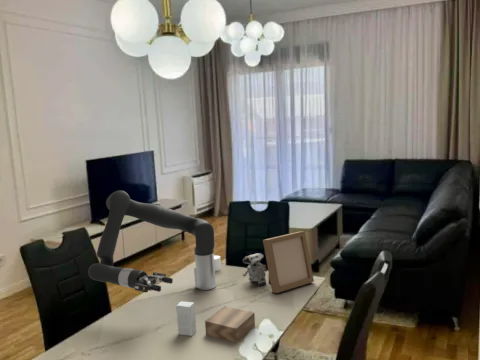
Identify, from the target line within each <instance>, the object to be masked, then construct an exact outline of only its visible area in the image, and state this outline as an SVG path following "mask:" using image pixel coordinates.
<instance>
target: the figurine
mask: <svg viewBox="0 0 480 360" xmlns="http://www.w3.org/2000/svg"><path fill="white" fill-rule="evenodd" d="M262 259H264V254H262V253H258V252H257V253H254V254H252V253H251V254H249V255H246V256H244V257H243V259H242V262H243V264H248V266H247V267H246V269H247V270H246V271H244V273H243V274H242V276H243V277H246V276H247V275H248V276H249V278H248V280H249V281H250V282H257V286H258V287H263V286H266V285H267V279H266V272H267V271H268V269H267V264H264V263H261V261H262Z"/></svg>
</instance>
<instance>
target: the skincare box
mask: <svg viewBox="0 0 480 360" xmlns="http://www.w3.org/2000/svg"><path fill="white" fill-rule="evenodd" d="M175 307H176V310H175V311H176V321H177V332H178V335H182V336H188V337H189V336H190V337H193V335H194V334H195V333H196V332H197V321H196V310H195V309H196V308H195V302H192V301H191V302H190V301H180V302H178V303H177V304H176V306H175Z"/></svg>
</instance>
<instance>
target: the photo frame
mask: <svg viewBox="0 0 480 360" xmlns="http://www.w3.org/2000/svg"><path fill="white" fill-rule="evenodd" d="M262 243H263V248H264V255H265V259H266V267H267V271H268V276H267V277H268V283H269V284H270V288H271V292H272V293H276V294H280V293H282V292H284V291H285V292H286V291H288V290H291V289H294V288H297V287H301V286H304V285H305V286H306V285H307V284H311V283H313V282H315V280H314V274H313V269H312V268H313V267H312V264H311V258H310V253H309V248H308V247H309V246H308V242H307V237H306V231H305V230H303V231H295V232H292V233H287V234H283V235H279V236H274V237H270V238H266V239H262Z"/></svg>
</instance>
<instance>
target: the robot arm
mask: <svg viewBox="0 0 480 360" xmlns="http://www.w3.org/2000/svg"><path fill="white" fill-rule="evenodd" d="M105 204H106V208H107V209H108V210H109V211H108V216H107V221H106V224H105V226H104V229H103V232H102V234H101V235H100V236H101V237H100V240H99V242H98V246H97V251H96V256H97V258H99V259H100V262H97V263H93V264H91V265H90V266H89V268H88V270H87V274H88V277H89V278H90V279H91V280H93V281H96V282H102V283H106V282H107V283H110V284H113V285H118V286H122V287H125V288H129V289H134V290H135V291H138V292H142V293H149V292H150V291H151V292H152V291H154V292H161V291H162V286H161V285H159V284H161V283H166V284H170V285H171V284H173V281H174V280H173V277H170V276H169V277H167V274H166V273H161V272H152V274H147V272H146V271H144V270H140V269H136V268H135V269H134V268H126V267H125V268H124V267H120V266H119V267H118V266H114V255H115V251H116V247H117V243H118V238H119V234H120V230H121V227H122V223H123V221H124V217H125V216H128V217H131V218H136V219H138V220H140V221H144V222H146V223H148V224H149V223H150V224H151V225H154V226H158V227H160V228H164V229H171V230H179V231H182V232H183V231H184V232H186V233H188V234H191V235H192V236H194V237H195V247H194V261H195V268H194V269H193V270H194V271H193V272H194V283H195V284H194V285H195V286H194V287H195V288H197V289H198V290H202V291H208V290H212V289H214V288H216V287H217V284H216V282H217V281H216V271H215V264H214V255H215V254H214V253H215V252H214V251H215V249H214V248H215V230H214V226H213V225H212V224H211V223H210V222H208V221H207V220H205V219H204V218H203V219H202V218H199V217H198V218H197V217H192V216H188V215H185V214H183V213H181V212H179V211H177V210H173V209H171V208H169V207H165V206H162V205H159V204H154V203H146V202H139V201H137V200H135V199H134V200H133V199H131V197H130V195H129V194H128V193H127V192H126V191H124V190H116V191H114V192H112V193H111V194H110V195H108V197H107V198H106V201H105Z"/></svg>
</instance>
